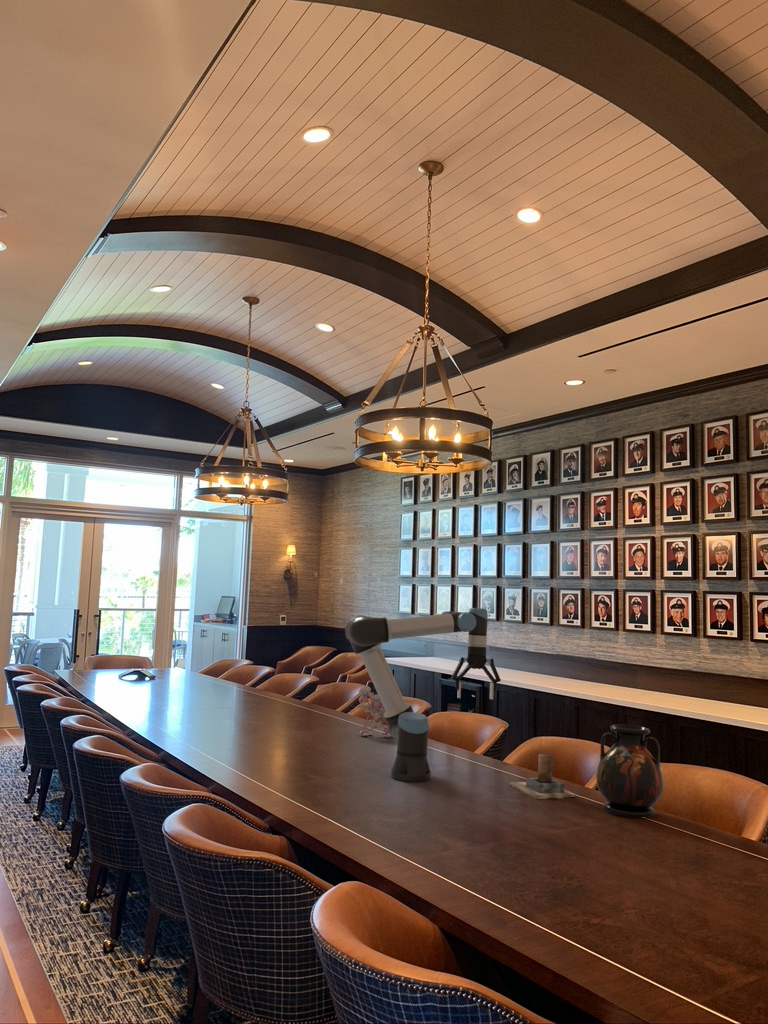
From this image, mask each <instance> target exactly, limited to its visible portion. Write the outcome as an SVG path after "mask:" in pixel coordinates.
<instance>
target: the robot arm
mask: <svg viewBox="0 0 768 1024" xmlns="http://www.w3.org/2000/svg"><path fill="white" fill-rule="evenodd" d="M488 619H489V617H488V610H487V609H486V608H482V607H479V608H477V607H470V608H469V611H465V612H463V611H451V610H448V611H446V610H445V611H442V612H441V614H433V615H421V616H412V617H401V618H392V619H391V618H390V619H388V618H387V617H373V616H372V617H371V616H366V615H356V616H353V617H352V618H349V620H348V621H347V623H346V625H345V627H344V628H345V629H344V634H345V638H346V639H347V641H348V642H349V643H350V644H351V647H352V649H353V651H354V654H355V655H357V656H359V657H361V660H362V662H363V664H364V666H365V669H366V671H367V673H368V676H369V678H370V680H371V682H372V684H373V686H374V689H375V691H376V693H377V694H378V695H379V697H380V700H381V702H382V704H383V706H384V708H385V709H384V710H385V714H384V718H385V720H386V724H387V728H388V729H389V732H390V734H391V736H392V737H391V738H393V739H394V740H395V741H396V743H397V744H396V755H395V756H396V757H395V759H394V762H393V765H392V767H391V770H390V778H392V779H394V780H398V781H402V782H403V781H404V782H409V783H410V782H411V783H412V782H415V783H418V782H420V783H421V782H422V783H423V782H427V781H430V780H431V779H432V776H431V775H432V773H431V769H430V764H429V760H428V746H429V745H428V744H429V727H430V724H429V718H428V716H426V714H422V713H419V712H414V709H413V707H412V705H411V703H409V702H406V700H405V698H404V696H403V694H402V692H401V690H400V687H399V686H398V683H397V681H396V679H395V676H394V675H393V672H392V669H391V668H390V665H389V663H388V661H387V659H386V657H385V654H384V652H383V650H382V648H381V645H382V644H383V643H389V642H390V640H397V639H404V638H413V637H416V638H417V637H422V636H423V637H424V636H432V635H433V636H434V635H442V634H451V633H462V632H463V633H468V637H467V638H468V640H467V644H468V646H467V657H463V656H460V657H459V662H458V663H457V665H456V667H455V669H454V670H453V673H452V675H451V676H450V679H451V680H453V681H455V684H454V688H455V690H457V692H456V693H457V694H456V695H457V696H456V697H457V699H461V698H462V697H461V695H462V693H461V692H462V682H461V679H462V678H463V677H464V676H465V675H466V674H467V673H468V672H469V670H471V669H473V670H475V669H478V670H481V669H482V670H483V672H484V673H485V674H486V675H487V677H488V678H489V680H490V681H491V682H489V700H494V692H496V690H497V683H500V682H501V677H500V675H499V673H498V671H497V669H496V666H495V662H494V659H493V657H491V658H487V645H488V644H487V641H488V638H487V636H488ZM465 663H467V664H466V666H465V668H464V669H462V667H463V665H464V664H465ZM487 663H488V664H489V667H490V668H491V671H492V673H493V675H492V673H491V672H490V670H489V669H488V668H487V666H486V664H487ZM461 669H462V671H461ZM459 672H460V673H459Z"/></svg>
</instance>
